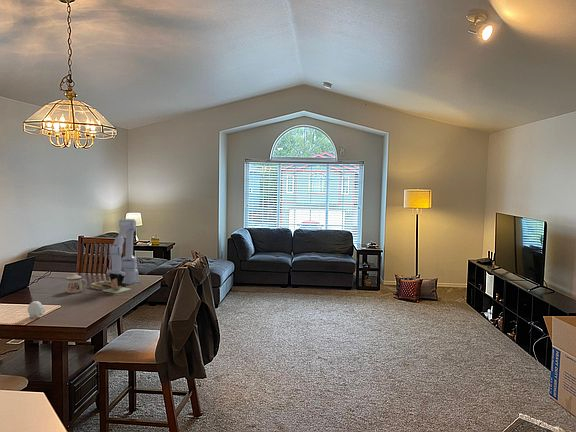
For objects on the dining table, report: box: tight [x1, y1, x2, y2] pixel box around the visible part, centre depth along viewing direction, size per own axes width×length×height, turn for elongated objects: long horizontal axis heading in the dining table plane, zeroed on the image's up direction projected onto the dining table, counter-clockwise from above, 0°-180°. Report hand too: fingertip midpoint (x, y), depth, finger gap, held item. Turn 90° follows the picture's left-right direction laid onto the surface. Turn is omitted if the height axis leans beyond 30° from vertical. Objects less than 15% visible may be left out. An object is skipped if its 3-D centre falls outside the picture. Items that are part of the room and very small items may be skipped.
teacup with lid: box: [65, 272, 88, 294], centre depth 290 cm, size 12×9×12 cm
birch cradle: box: [89, 280, 112, 291], centre depth 302 cm, size 12×12×2 cm
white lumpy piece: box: [27, 300, 46, 319], centre depth 239 cm, size 6×8×12 cm
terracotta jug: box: [110, 278, 122, 289], centre depth 293 cm, size 7×5×6 cm
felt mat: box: [101, 286, 132, 294], centre depth 294 cm, size 13×13×1 cm
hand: (117, 285), depth 294 cm, fingers closed on terracotta jug, 5 cm apart
